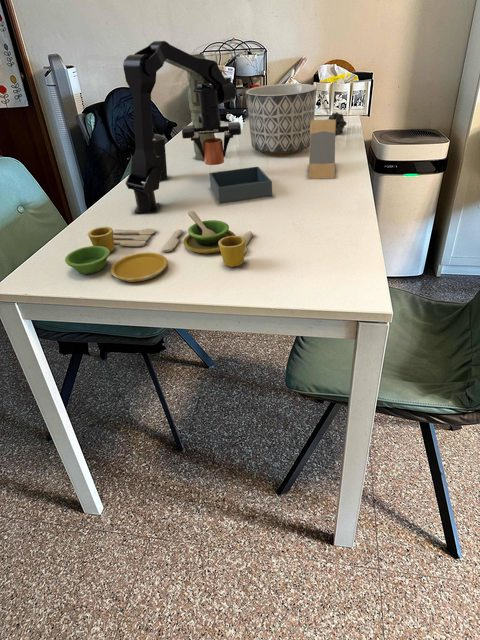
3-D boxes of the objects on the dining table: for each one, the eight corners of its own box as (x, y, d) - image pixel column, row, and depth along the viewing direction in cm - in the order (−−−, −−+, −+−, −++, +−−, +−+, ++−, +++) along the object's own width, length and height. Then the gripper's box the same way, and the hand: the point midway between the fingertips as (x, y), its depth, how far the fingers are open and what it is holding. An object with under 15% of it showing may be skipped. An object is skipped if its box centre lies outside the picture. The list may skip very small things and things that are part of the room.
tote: (272, 197, 135) (271, 181, 132) (219, 205, 133) (218, 188, 130) (258, 181, 148) (258, 166, 145) (210, 188, 146) (209, 172, 143)
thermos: (191, 161, 173) (178, 57, 153) (199, 153, 182) (188, 54, 162) (214, 161, 171) (203, 55, 151) (220, 152, 181) (211, 52, 161)
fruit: (330, 106, 198) (330, 112, 185) (348, 112, 198) (349, 118, 186) (323, 126, 203) (323, 133, 190) (340, 132, 203) (341, 139, 191)
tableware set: (259, 234, 114) (258, 210, 110) (235, 290, 92) (233, 263, 89) (111, 229, 123) (105, 207, 119) (57, 280, 101) (48, 255, 97)
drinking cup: (167, 182, 154) (157, 120, 142) (146, 182, 155) (134, 120, 144) (174, 175, 160) (165, 115, 148) (154, 175, 161) (143, 115, 150)
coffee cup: (224, 164, 147) (222, 142, 143) (204, 165, 147) (202, 143, 143) (224, 159, 152) (222, 137, 148) (205, 160, 152) (203, 138, 148)
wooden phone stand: (308, 178, 147) (309, 130, 139) (309, 165, 160) (310, 119, 151) (335, 178, 146) (337, 129, 137) (333, 164, 158) (336, 118, 150)
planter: (275, 164, 163) (274, 97, 150) (236, 151, 181) (232, 91, 169) (328, 149, 174) (331, 86, 161) (287, 138, 192) (286, 81, 180)
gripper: (239, 100, 146) (241, 149, 155) (182, 104, 147) (188, 153, 156) (239, 106, 137) (242, 158, 146) (178, 110, 138) (185, 162, 146)
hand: (214, 157), depth 149 cm, fingers closed on coffee cup, 6 cm apart
